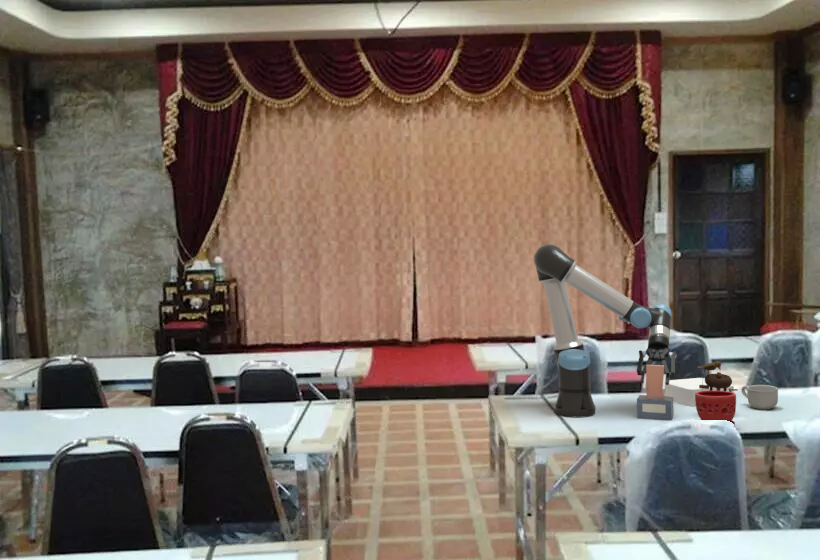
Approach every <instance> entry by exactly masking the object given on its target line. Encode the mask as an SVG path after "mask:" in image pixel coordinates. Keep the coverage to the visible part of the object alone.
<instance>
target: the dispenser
mask: <svg viewBox="0 0 820 560" xmlns="http://www.w3.org/2000/svg"><path fill="white" fill-rule="evenodd" d="M674 415H675V414H674V402H673V397H668V396H664V398H649V397H647V396H646V394H642V395H641V394H639V395H638V397H637V398H636V418H637V419H643V420H644V419H645V420H659V421H660V420H661V421H672V420H673V418H674Z"/></svg>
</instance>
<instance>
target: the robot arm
mask: <svg viewBox="0 0 820 560" xmlns="http://www.w3.org/2000/svg"><path fill="white" fill-rule="evenodd" d="M533 256H534V257H533V261H534V265H535V268H536V269H535V270H536V273H537V274H536V275H537V278H538V279H537V280H538V282H539V283H540V284H542V285H543V286H544V287H543V288H544V292H545V297H546V301H547V305H548V306H547V307H548V310H549V315H550V319H551V324H552V329H553V330H552V331H553V332H554V338H555V342H556V344H555V345H554V347H553V351H554V356H555V362H556V368H557V371H558V395H557V399H556V402H555V405H554V414H556V413H557V414H556V415H558V414H560V415H559V416H561V415H565V416H564V417H568V416H586V417H590V416H589V415H592V416H593V414H594V415H596V406H595V402H594V400H593V397H592V394H591V355H590V353H589V352H587V351H586V350H585V346H584V343H583V342H582V341H581V340H579V337H578V332H577V329H576V323H575V318H574V313H573V310H572V304H571V300H570V296H569V291H568V287H567V284H568V285H570V286H572V287H573V288H574V289H576V290H577V291H579V292H581V293H582V294H584V295H586V296H587V297H589V298H590V299H592V301H595V302H597V303H598V304H599V305H601V306H603V307H604V308H606V309H608V310H609V311H610V312H612V313H613V314H615V315H617V316H618V319H619V320H620V321H622V322H624V323H629V324H631V325H632V326H633V327H635V328H636V329H644V328H649V331H648V332H649V333H648V341H647V348H646V349H645V350H644V351H642V350H641V349H640V350H639V351H638V356H639V357H638V362H637V367H636V375H637V376H640V383H641V384H643V385H642V390H643V393H646V387H647V376H646V365H654V362H659V363H660V362H661V365H664V377H663V388H662V389H663V393H665V390H666V385H669V380H671V378H675V377H676V360H677V358H678V356H677V352H676V351H673V352H671V351H670V338H671V337H670V336H671V325H672V318H673V317H672V309H671V308H670V307H669V306H668V305H666V304H663V303H661V304H655V305H653V306H652V307H647V306H643V305H641V304H638V303H637V302H635V301H634V300H632V299H631V298H629V297H627V296H626V295H625V294H623V293H622V292H620V291H618V290H617V289H615V288H614V287H612V286H610V285H609V284H608V283H605V282H604V281H603V280H600V278H598V277H596V276H594V275H593V274H591V273H590V272H589V271H587V270H586V269H584V268H583V267H580V266H579V265H577V263H576V260H574V258H572V257H570V256H569V255H568V254H566V253H565V252H564V251H563V249H562V248H560V247H559V246H557V245H556V244H551V243H550V244H544V245H541V246H540V247H539V248H538V249H537V250H536V251H535V253H534V255H533ZM646 356H647V357H648V358H647V360H646V362H645V365H644V366H643V363H644V358H645V357H646ZM668 357H669V358H670V364H671V365H670V371H669V368H668V365H667V361H666V359H667V358H668Z"/></svg>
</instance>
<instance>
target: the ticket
mask: <svg viewBox="0 0 820 560" xmlns="http://www.w3.org/2000/svg"><path fill="white" fill-rule="evenodd" d="M664 374H665V371H664V365H662V364H661V365H660V364H652V365H646V376H647V387H646V392H645V395H646V396H647V397H649V398H664V393H663V389H662V388H663V377H664Z"/></svg>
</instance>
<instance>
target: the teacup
mask: <svg viewBox="0 0 820 560" xmlns="http://www.w3.org/2000/svg"><path fill="white" fill-rule="evenodd" d="M746 389H747V390H746ZM746 391H747V392H746ZM740 392H741V394H742V395H743V396H744V397H745V398H746V399H747V402H748V404H749V405H750V406H751V407H752V408H754V409H756V408H757V409H756V410H761V409H768V410H772V409H773V408H774V407H776V406H777V405H778V403H779V400H778V399H779V388H778V387H777V386H774V385H769V384H753V385H743V386H742V387H741V391H740ZM771 408H772V409H771Z"/></svg>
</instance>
